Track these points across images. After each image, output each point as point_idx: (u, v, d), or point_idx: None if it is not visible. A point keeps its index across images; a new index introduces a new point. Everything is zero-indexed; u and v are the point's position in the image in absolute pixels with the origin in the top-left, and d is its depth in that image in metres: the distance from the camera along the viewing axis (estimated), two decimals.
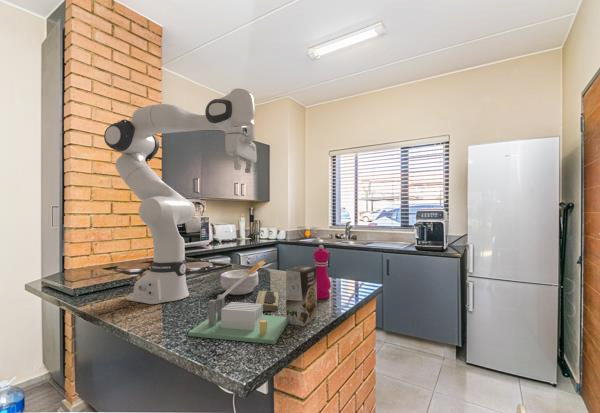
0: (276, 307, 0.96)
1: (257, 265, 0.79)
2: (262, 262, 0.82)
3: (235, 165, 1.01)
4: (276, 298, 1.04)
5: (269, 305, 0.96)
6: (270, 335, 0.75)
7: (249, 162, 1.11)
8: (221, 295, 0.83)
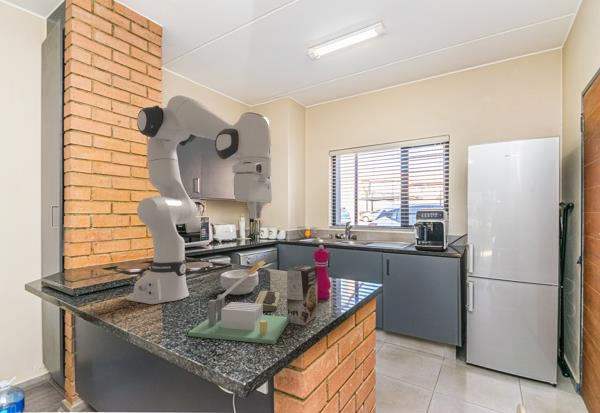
0: (275, 307, 0.96)
1: (257, 265, 0.79)
2: (262, 262, 0.82)
3: (250, 213, 0.80)
4: (276, 298, 1.04)
5: (268, 305, 0.96)
6: (270, 335, 0.75)
7: (259, 204, 0.84)
8: (221, 295, 0.83)
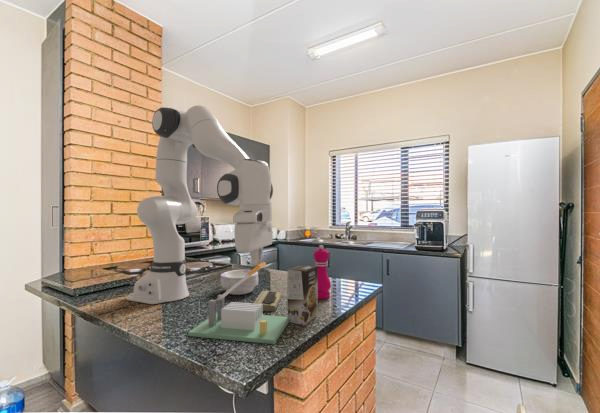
0: (273, 307, 0.96)
1: (258, 266, 0.79)
2: (263, 263, 0.82)
3: (253, 260, 0.80)
4: (276, 298, 1.03)
5: (266, 305, 0.96)
6: (270, 335, 0.75)
7: (259, 249, 0.83)
8: (221, 295, 0.83)
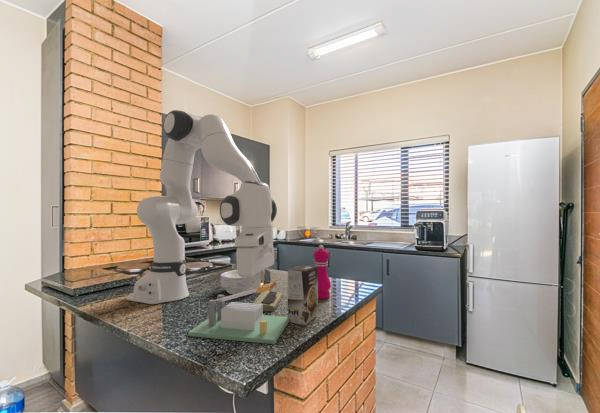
0: (273, 308, 0.96)
1: (269, 288, 0.78)
2: (273, 284, 0.81)
3: (255, 282, 0.80)
4: (276, 298, 1.03)
5: (266, 305, 0.96)
6: (270, 335, 0.75)
7: (261, 271, 0.82)
8: (223, 298, 0.83)
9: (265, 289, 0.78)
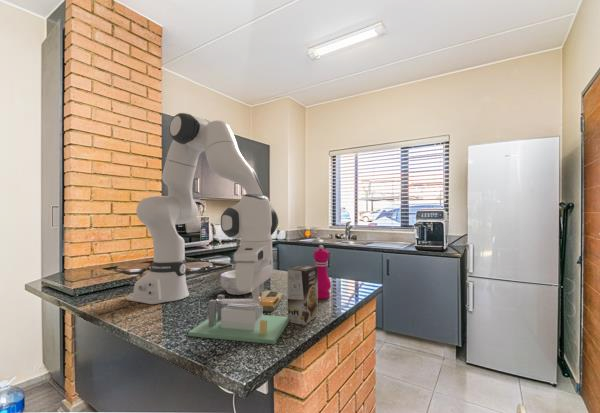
0: (272, 308, 0.96)
1: (271, 304, 0.78)
2: (276, 300, 0.81)
3: (254, 296, 0.80)
4: None
5: None
6: (270, 335, 0.75)
7: None
8: (224, 301, 0.83)
9: (268, 304, 0.78)
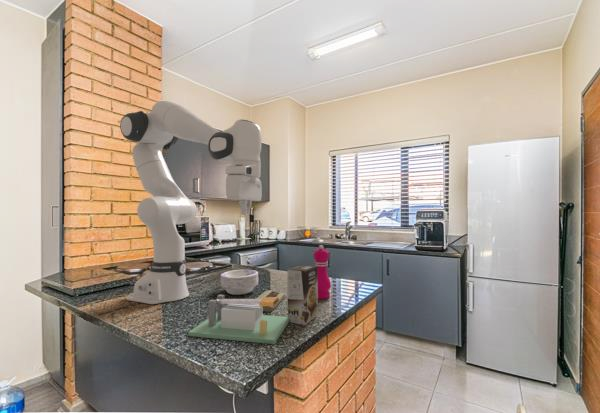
0: (270, 308, 0.95)
1: (271, 304, 0.78)
2: (276, 300, 0.81)
3: (242, 210, 0.91)
4: None
5: None
6: (270, 335, 0.75)
7: (248, 201, 0.93)
8: (224, 301, 0.83)
9: (268, 304, 0.78)
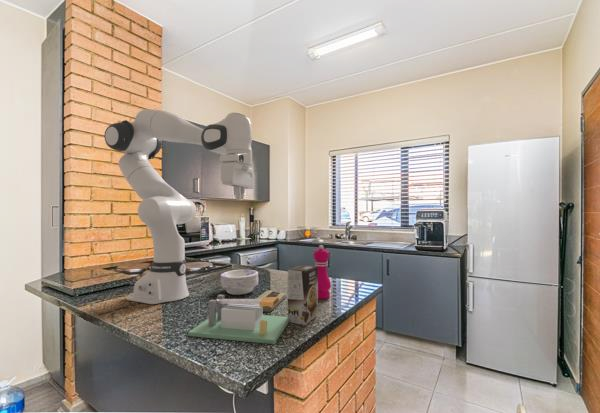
0: (269, 308, 0.95)
1: (271, 304, 0.78)
2: (276, 300, 0.81)
3: (236, 195, 0.99)
4: None
5: None
6: (270, 335, 0.75)
7: (242, 188, 1.01)
8: (224, 301, 0.83)
9: (268, 304, 0.78)
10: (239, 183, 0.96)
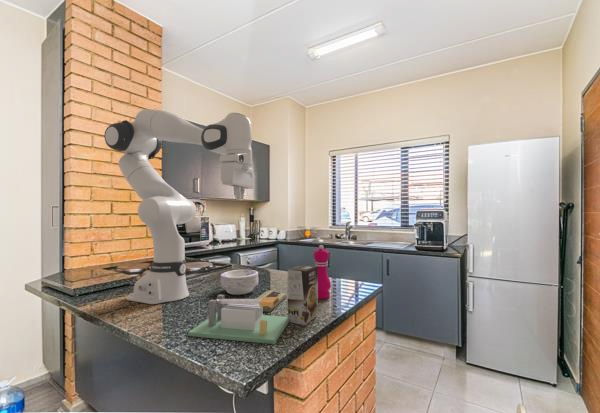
0: (269, 308, 0.95)
1: (271, 304, 0.78)
2: (276, 300, 0.81)
3: (236, 195, 0.99)
4: None
5: None
6: (270, 335, 0.75)
7: (242, 188, 1.01)
8: (224, 301, 0.83)
9: (268, 304, 0.78)
10: (239, 183, 0.96)
